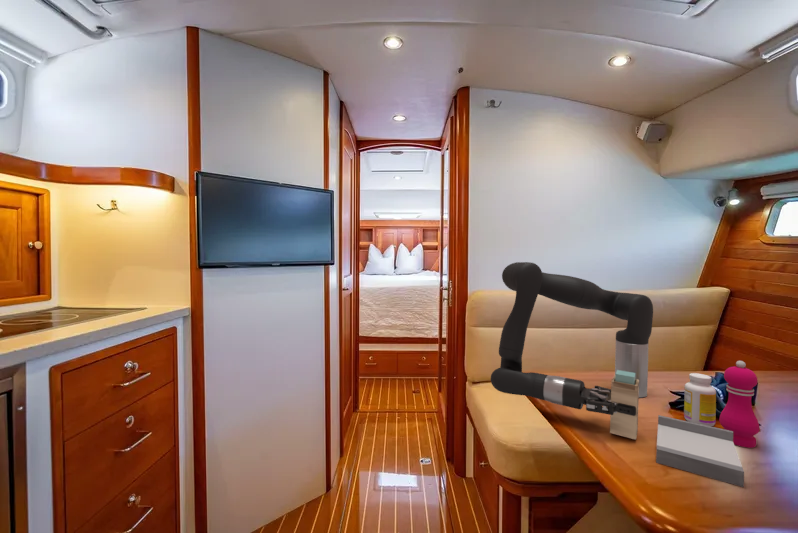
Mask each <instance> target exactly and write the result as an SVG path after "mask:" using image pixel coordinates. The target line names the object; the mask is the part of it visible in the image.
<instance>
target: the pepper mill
mask: <svg viewBox="0 0 798 533" xmlns="http://www.w3.org/2000/svg"><path fill="white" fill-rule="evenodd" d="M746 364H747V363H746V362H744V361H743V360H737V361H736V362H735V365H736V366H730V367H727V368H726V369H725V370H724V372H723V378H724V380H725V381H726V383H727V384H726V391H727V392H728V398H727V402H726V404H725V406H724V408H723V410H722V411H721V412H720V414H719V419H718V420H719V424H720V425H721V427H722V429H725V430H729V431H733V443H734V445H735V446H738V447H742V448H750V449H753V448H756V446H757V438H756V437H755V436H756V435H757V434H758V433H760V430H761V429H760V423H759V420H758V418H757V416H756V414H755V412H754V409H753V404H752V397H753V396H754V395H755V389H754V387H756V386H757V384H758V381H759V380H758V377H757V374H756V373H755V372H754V371H753V370H751V369H750V368H747V367H746Z"/></svg>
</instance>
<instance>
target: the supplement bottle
mask: <svg viewBox="0 0 798 533" xmlns="http://www.w3.org/2000/svg"><path fill="white" fill-rule="evenodd" d="M688 376H689V382H686V383H685V384H684V400H683V401H684V402H683V403H684V405H683V406H684V407H683V416H684V419H685V421H688V422H693V423H697V424H702V425H706V426H711V427H715V425H716V417H717V416H716V412H717V403H716V402H717V390H716V389H715V387H714V386H712V385H711V383H712V377H711V376H709V375H707V374H703V373H698V372H697V373H696V372H692V373H689V375H688Z"/></svg>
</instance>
